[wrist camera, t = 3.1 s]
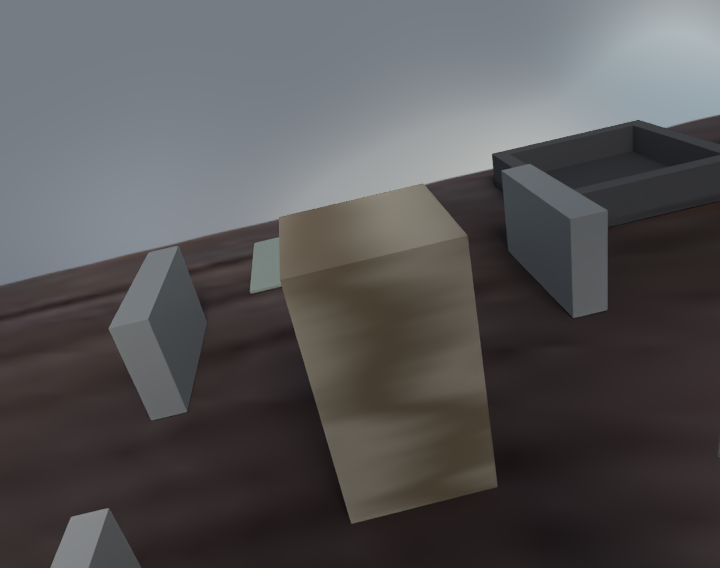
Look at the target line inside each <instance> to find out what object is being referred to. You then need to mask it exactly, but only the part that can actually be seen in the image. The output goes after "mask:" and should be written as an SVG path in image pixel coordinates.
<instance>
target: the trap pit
mask: <svg viewBox="0 0 720 568" xmlns="http://www.w3.org/2000/svg"><path fill="white" fill-rule="evenodd" d="M492 158H493V169H494V180H495V186H497V187H498V188H499V189H500V190H502V191H503V184H502V172H501V170H506V169H510V168H514V167H518V166H523V165H527V164H531V165H533V166H535V167H536V168H538V169H540V170H541V171H543V172H545V173H546V174H548V175H550V176H551V177H553V178H555V179H556V180H558V181H560V182H561V183H563V184H565V185H566V186H568V187H570V188H571V189H573V190H575V191H576V192H578V193H580V194H581V195H583V196H585V197H586V198H588V199H590V200H591V201H593V202H595V203H596V204H598V205H600V206H601V207H603V208H605V209H606V210H608V227H611V226H616V225H620V224H624V223H628V222H632V221H637V220H641V219H645V218H649V217H653V216H658V215H662V214H666V213H670V212H675V211H679V210H683V209H687V208H691V207H696V206H700V205H704V204H708V203H712V202H717V201H720V144H716V143H713V142H710V141H706V140H703V139H700V138H696V137H693V136H690V135H686V134H683V133H680V132H676V131H673V130H670V129H666V128H663V127H660V126H656V125H653V124H650V123H646V122H643V121H640V120H637V121H632V122H628V123H624V124H619V125H615V126H611V127H607V128H602V129H598V130H593V131H589V132H585V133H581V134H576V135H572V136H567V137H563V138H559V139H555V140H551V141H546V142H542V143H537V144H533V145H529V146H525V147H520V148H516V149H512V150H507V151H503V152H498V153H494V154H492Z"/></svg>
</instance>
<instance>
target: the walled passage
mask: <svg viewBox="0 0 720 568" xmlns="http://www.w3.org/2000/svg"><path fill="white" fill-rule="evenodd" d="M501 172H502V184H503V196H504V207H505V219H506V231H507V243H508V251H509V252H510V253H511V254H512V255H513V257H514V258H515V259H516V260H517V261H518V262H519V263H520V264H521V265H522V266H523V267H524V268H525V269H526V270H527V271H528V272H529V273H530V274H531V275H532V276H533V277H534V278H535V279H536V280H537V281H538V282H539V283H540V284H541V285H542V286H543V288H544V289H545V290H546V291H547V292H548V293H549V294H550V295H551V296H552V297H553V298H554V299H555V300H556V301H557V302H558V303H559V304H560V305H561V306H562V307H563V308H564V309H565V310H566V311H567V312H568V313H569V314H570V315H571V316H572V317H573V318H577V317H581V316H585V315H589V314H593V313H597V312H601V311H605V310H608V210H606V209H605V208H603V207H601V206H600V205H598V204H596V203H595V202H593V201H591V200H590V199H588V198H586V197H585V196H583V195H581V194H580V193H578V192H576V191H575V190H573V189H571V188H570V187H568V186H566V185H565V184H563V183H561V182H560V181H558V180H556V179H555V178H553V177H551V176H550V175H548V174H546V173H545V172H543V171H541V170H540V169H538V168H536V167H535V166H533V165H531V164H527V165H523V166H518V167H514V168H510V169H506V170H501ZM206 325H207V321H206V318H205V316H204V313H203V310H202V308H201V305H200V302H199V299H198V297H197V294H196V291H195V289H194V286H193V283H192V281H191V278H190V275H189V272H188V270H187V267H186V264H185V262H184V259H183V256H182V254H181V251H180V248H179V246H175V247H171V248H166V249H162V250H158V251H154V252H149V253H148V255H147V257H146V259H145V260H144V262H143V264H142V266H141V268H140V270H139V272H138V274H137V276H136V277H135V279H134V281H133V283H132V285H131V287H130V289H129V291H128V293H127V295H126V296H125V298H124V300H123V302H122V304H121V306H120V308H119V310H118V312H117V313H116V315H115V317H114V319H113V321H112V323H111V325H110V327H109V331H110V333H111V335H112V337H113V339H114V341H115V344H116V346H117V348H118V350H119V352H120V354H121V357H122V359H123V361H124V363H125V365H126V367H127V369H128V372H129V374H130V376H131V378H132V380H133V382H134V384H135V387H136V389H137V391H138V393H139V395H140V397H141V400H142V402H143V404H144V406H145V408H146V410H147V412H148V415H149V417H150V419H151V421H152V420H156V419H160V418H165V417H169V416H173V415H177V414H181V413H185V412H187V411H188V407H189V402H190V398H191V393H192V389H193V384H194V380H195V375H196V371H197V366H198V362H199V357H200V353H201V348H202V343H203V339H204V334H205V330H206Z"/></svg>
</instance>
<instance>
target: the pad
mask: <svg viewBox="0 0 720 568" xmlns="http://www.w3.org/2000/svg"><path fill="white" fill-rule="evenodd" d="M277 287H282V286H281V282H280V254H279V237H278V238H274V239H270V240H266V241H261V242H257V243H254V252H253V263H252V273H251V284H250V294H252V293H256V292H261V291H265V290H269V289H273V288H277Z"/></svg>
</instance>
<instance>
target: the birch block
mask: <svg viewBox="0 0 720 568" xmlns="http://www.w3.org/2000/svg"><path fill="white" fill-rule="evenodd" d="M279 254H280V282H281V286H282V289H283V292H284V296H285V299H286V303H287V306H288V310H289V313H290V316H291V320H292V323H293V327H294V330H295V333H296V337H297V340H298V344H299V347H300V351H301V354H302V357H303V361H304V364H305V368H306V371H307V374H308V378H309V381H310V385H311V388H312V392H313V395H314V398H315V402H316V405H317V409H318V412H319V415H320V419H321V422H322V426H323V429H324V433H325V436H326V439H327V443H328V446H329V450H330V453H331V456H332V460H333V463H334V467H335V470H336V474H337V477H338V480H339V484H340V487H341V491H342V494H343V497H344V501H345V504H346V508H347V511H348V515H349V518H350V521H351V524H353V523H357V522H361V521H365V520H369V519H373V518H376V517H380V516H384V515H388V514H392V513H396V512H400V511H404V510H408V509H412V508H416V507H420V506H424V505H428V504H432V503H436V502H440V501H444V500H448V499H452V498H456V497H460V496H464V495H468V494H472V493H476V492H480V491H484V490H488V489H492V488H496V487H498V486H497V478H496V469H495V461H494V453H493V444H492V436H491V427H490V419H489V411H488V402H487V394H486V386H485V377H484V369H483V361H482V352H481V344H480V336H479V327H478V319H477V311H476V302H475V294H474V286H473V277H472V269H471V261H470V252H469V244H468V236H467V234H466V233H465V232H464V231H463V230H462V229H461V227H460V226H459V225H458V224H457V223H456V221H455V220H454V219H453V218H452V217H451V216H450V214H449V213H448V212H447V211H446V210H445V209H444V207H443V206H442V205H441V204H440V203H439V202H438V200H437V199H436V198H435V197H434V196H433V194H432V193H431V192H430V191H429V190H428V189H427V187H426V186H425V185H424V184H419V185H415V186H411V187H406V188H402V189H398V190H393V191H389V192H385V193H381V194H376V195H372V196H368V197H363V198H359V199H355V200H351V201H346V202H342V203H338V204H333V205H329V206H325V207H321V208H317V209H312V210H308V211H303V212H299V213H295V214H291V215H287V216H282V217H279Z"/></svg>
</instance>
